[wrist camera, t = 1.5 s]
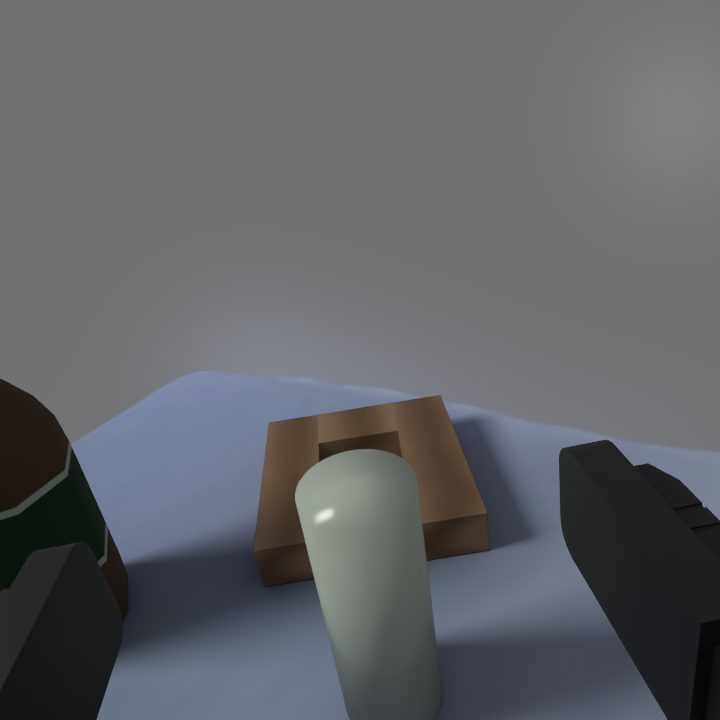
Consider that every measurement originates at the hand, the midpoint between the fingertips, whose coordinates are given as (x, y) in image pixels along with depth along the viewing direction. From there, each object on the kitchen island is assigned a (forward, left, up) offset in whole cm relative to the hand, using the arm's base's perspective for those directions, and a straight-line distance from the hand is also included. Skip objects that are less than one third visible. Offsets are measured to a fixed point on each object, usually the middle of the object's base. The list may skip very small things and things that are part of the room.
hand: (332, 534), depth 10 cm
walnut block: (0, +26, -21) cm, 33 cm away
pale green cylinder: (0, +11, -21) cm, 23 cm away
